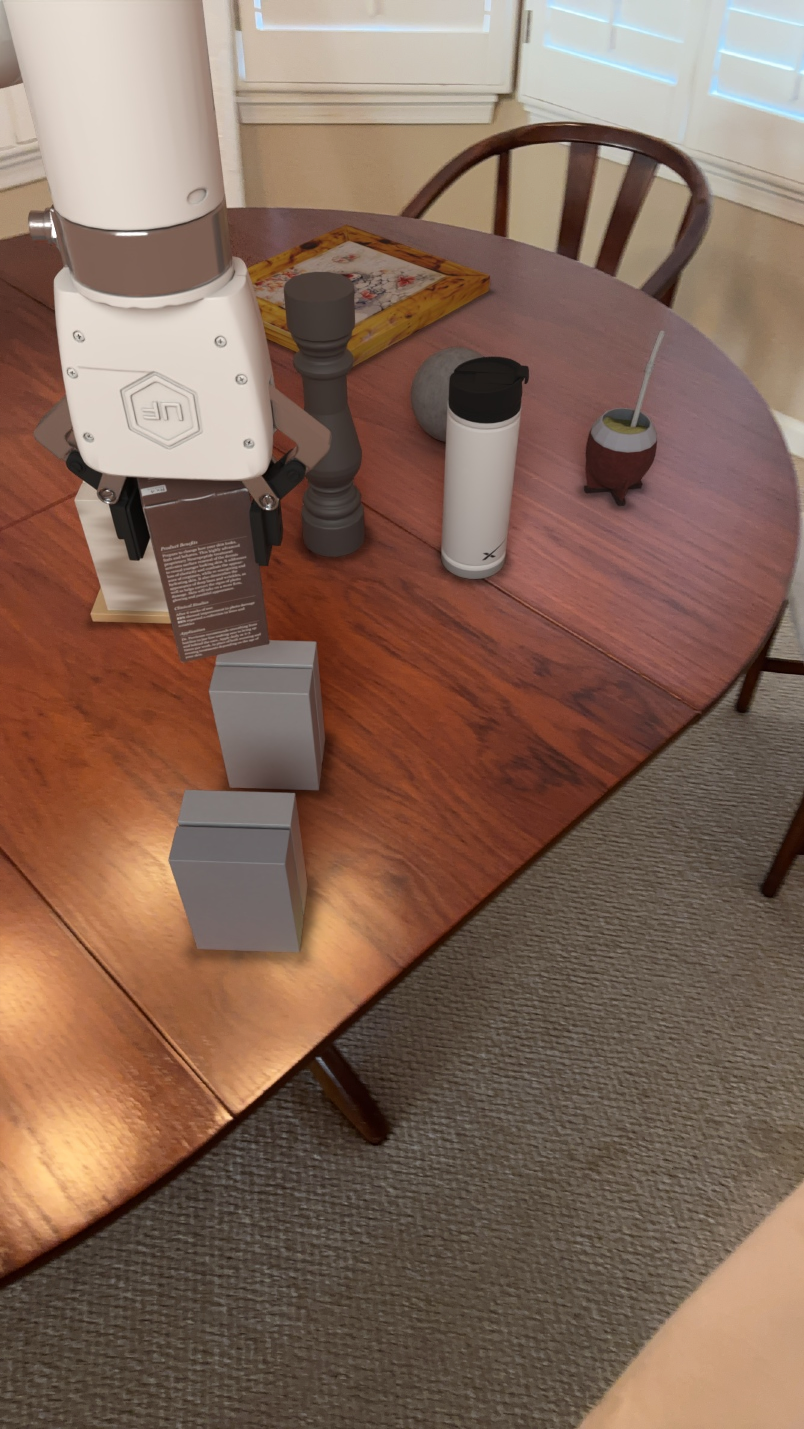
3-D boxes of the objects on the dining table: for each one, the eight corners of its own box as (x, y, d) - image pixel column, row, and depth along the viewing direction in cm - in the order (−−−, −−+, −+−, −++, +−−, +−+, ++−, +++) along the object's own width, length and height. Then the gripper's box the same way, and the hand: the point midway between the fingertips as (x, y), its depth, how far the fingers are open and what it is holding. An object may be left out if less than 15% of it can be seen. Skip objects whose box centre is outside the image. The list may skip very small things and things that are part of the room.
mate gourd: (590, 511, 97) (615, 375, 86) (569, 468, 103) (590, 335, 91) (659, 504, 98) (693, 369, 87) (635, 462, 103) (664, 329, 92)
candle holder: (360, 515, 97) (351, 267, 78) (369, 553, 93) (362, 301, 74) (300, 521, 96) (277, 272, 77) (306, 560, 92) (283, 306, 73)
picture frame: (490, 275, 130) (341, 355, 115) (488, 290, 132) (342, 372, 116) (346, 224, 142) (194, 291, 126) (347, 239, 143) (197, 307, 128)
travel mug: (504, 584, 90) (526, 390, 75) (436, 576, 90) (443, 382, 75) (511, 544, 94) (532, 352, 79) (445, 536, 94) (454, 345, 80)
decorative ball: (395, 447, 105) (395, 363, 98) (431, 405, 111) (434, 322, 104) (477, 469, 102) (484, 384, 95) (511, 425, 108) (519, 341, 101)
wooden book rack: (92, 621, 86) (53, 503, 76) (136, 503, 98) (108, 388, 88) (201, 624, 86) (176, 506, 76) (232, 506, 98) (214, 390, 88)
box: (256, 602, 64) (236, 447, 55) (271, 647, 61) (253, 491, 52) (167, 620, 63) (131, 464, 54) (178, 666, 60) (143, 510, 51)
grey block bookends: (197, 949, 64) (167, 860, 56) (239, 736, 77) (220, 638, 69) (299, 953, 64) (285, 864, 56) (325, 738, 77) (316, 640, 68)
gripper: (-70, 270, 41) (42, 583, 54) (328, 284, 41) (342, 596, 54) (-12, 203, 46) (77, 505, 59) (343, 215, 46) (352, 516, 59)
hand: (203, 546), depth 57 cm, fingers closed on box, 6 cm apart
